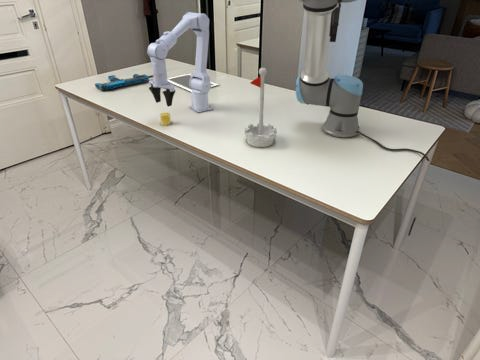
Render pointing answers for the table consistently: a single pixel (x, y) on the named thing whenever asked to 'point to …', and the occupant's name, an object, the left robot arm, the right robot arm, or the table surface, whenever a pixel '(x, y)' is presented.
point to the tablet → (184, 82)
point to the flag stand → (260, 120)
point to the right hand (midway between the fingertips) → (331, 39)
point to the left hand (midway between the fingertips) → (163, 103)
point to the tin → (165, 118)
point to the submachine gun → (122, 81)
